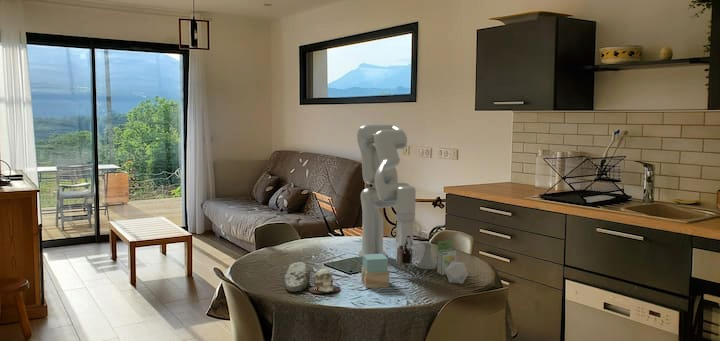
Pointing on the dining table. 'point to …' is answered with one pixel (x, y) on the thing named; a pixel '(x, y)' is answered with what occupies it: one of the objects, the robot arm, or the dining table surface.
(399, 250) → the walnut block
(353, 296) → the dining table surface
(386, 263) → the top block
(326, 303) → the dining table surface
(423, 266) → the flask
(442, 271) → the ink box
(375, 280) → the bottom block
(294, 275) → the elongated rock
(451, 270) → the die
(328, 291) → the skull
